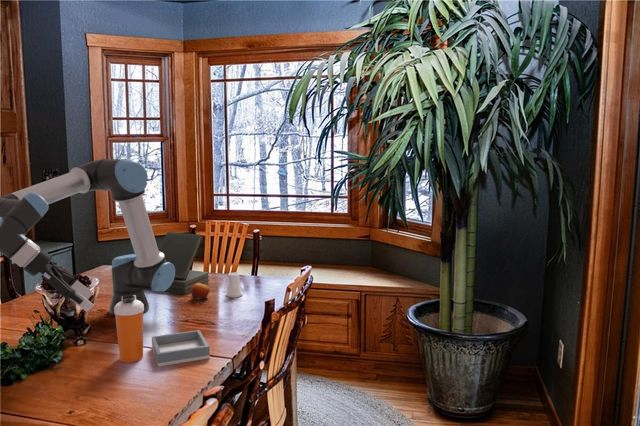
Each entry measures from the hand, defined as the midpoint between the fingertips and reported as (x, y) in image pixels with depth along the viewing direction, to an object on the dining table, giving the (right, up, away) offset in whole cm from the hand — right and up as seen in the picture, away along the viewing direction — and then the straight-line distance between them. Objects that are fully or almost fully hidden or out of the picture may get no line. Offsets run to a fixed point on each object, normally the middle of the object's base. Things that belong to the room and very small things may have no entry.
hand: (90, 302), depth 164 cm
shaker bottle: (+10, -19, +7) cm, 23 cm away
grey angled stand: (+3, -8, +90) cm, 90 cm away
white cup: (+32, -10, +76) cm, 83 cm away
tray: (+25, -19, +11) cm, 33 cm away
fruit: (+18, -11, +71) cm, 74 cm away
